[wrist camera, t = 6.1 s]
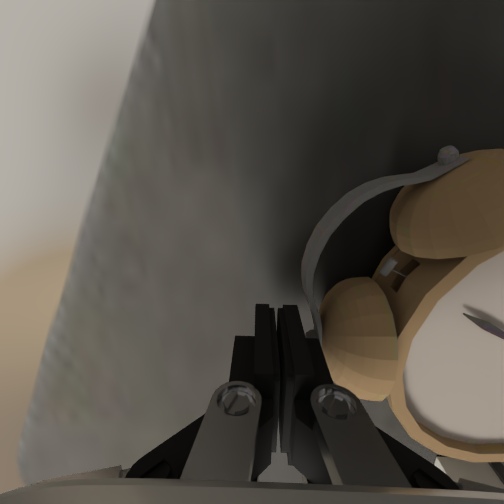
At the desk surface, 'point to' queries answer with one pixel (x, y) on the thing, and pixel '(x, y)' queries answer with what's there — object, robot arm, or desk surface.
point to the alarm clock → (426, 305)
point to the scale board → (472, 471)
